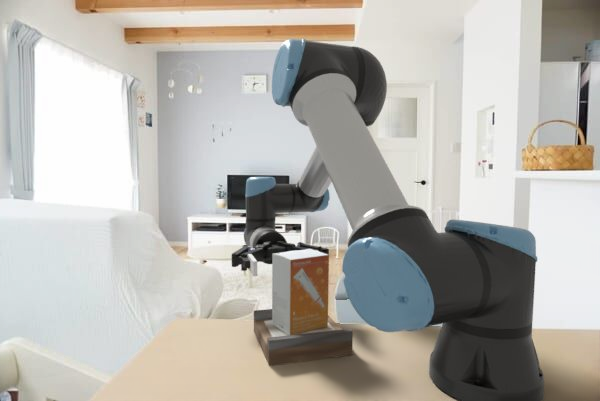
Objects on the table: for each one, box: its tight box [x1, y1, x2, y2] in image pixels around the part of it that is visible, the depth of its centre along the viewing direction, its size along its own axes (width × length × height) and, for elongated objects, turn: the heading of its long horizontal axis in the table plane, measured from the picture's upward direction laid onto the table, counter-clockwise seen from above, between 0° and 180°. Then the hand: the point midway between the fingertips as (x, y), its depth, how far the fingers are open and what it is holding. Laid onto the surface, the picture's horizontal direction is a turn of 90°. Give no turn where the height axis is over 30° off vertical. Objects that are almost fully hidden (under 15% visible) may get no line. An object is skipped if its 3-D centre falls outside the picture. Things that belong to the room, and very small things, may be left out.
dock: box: [253, 308, 354, 366], centre depth 74 cm, size 14×14×4 cm
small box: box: [271, 249, 330, 335], centre depth 74 cm, size 8×6×13 cm
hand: (291, 266), depth 78 cm, fingers open, 13 cm apart
